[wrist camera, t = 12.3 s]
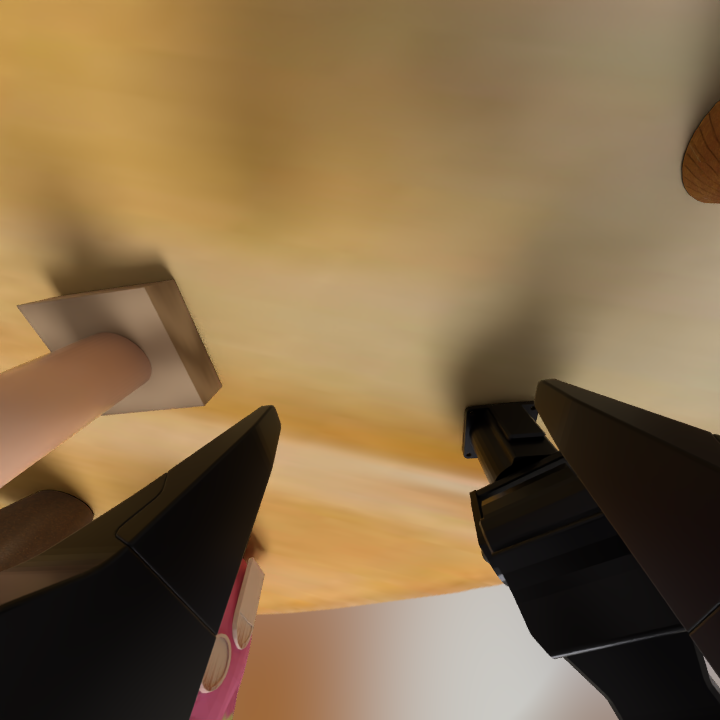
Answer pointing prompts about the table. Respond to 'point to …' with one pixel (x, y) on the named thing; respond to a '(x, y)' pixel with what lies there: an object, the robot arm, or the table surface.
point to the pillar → (63, 396)
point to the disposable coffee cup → (704, 160)
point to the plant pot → (38, 525)
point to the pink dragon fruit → (230, 647)
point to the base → (136, 339)
